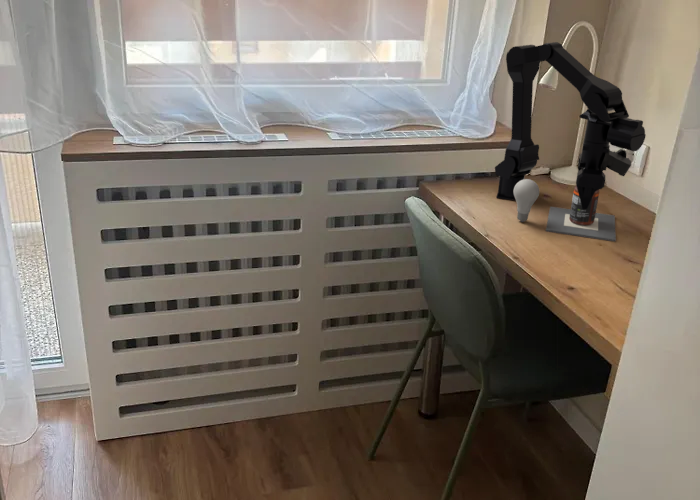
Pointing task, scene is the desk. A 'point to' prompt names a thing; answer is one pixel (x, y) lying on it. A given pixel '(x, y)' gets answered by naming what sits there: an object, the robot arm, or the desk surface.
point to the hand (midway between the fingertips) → (585, 202)
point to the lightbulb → (525, 197)
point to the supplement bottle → (580, 214)
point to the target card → (597, 230)
